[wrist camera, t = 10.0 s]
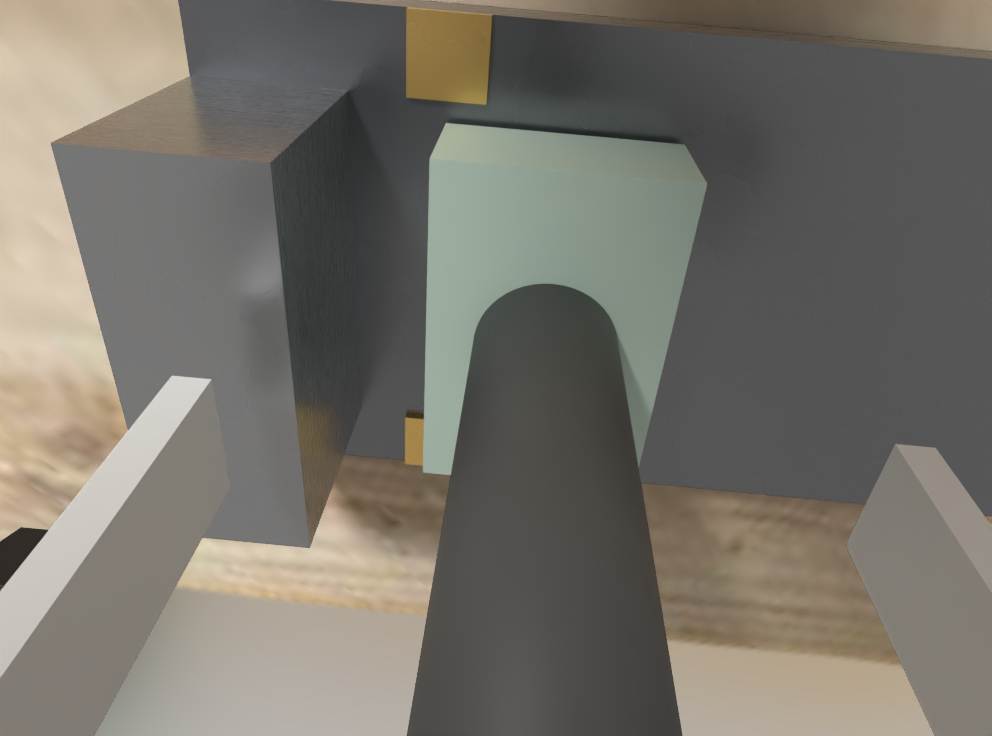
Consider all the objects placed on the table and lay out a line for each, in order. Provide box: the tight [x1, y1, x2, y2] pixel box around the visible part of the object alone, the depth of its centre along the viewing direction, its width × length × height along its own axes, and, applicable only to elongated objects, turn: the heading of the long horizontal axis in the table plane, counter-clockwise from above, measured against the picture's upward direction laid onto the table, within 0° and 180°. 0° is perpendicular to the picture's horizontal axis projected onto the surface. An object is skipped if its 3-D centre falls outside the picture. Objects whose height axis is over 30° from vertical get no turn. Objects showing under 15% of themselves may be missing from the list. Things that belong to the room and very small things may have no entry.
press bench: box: [51, 0, 992, 548], centre depth 19 cm, size 26×14×8 cm, turn 86°
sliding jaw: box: [407, 123, 707, 736], centre depth 14 cm, size 6×9×16 cm, turn 176°
